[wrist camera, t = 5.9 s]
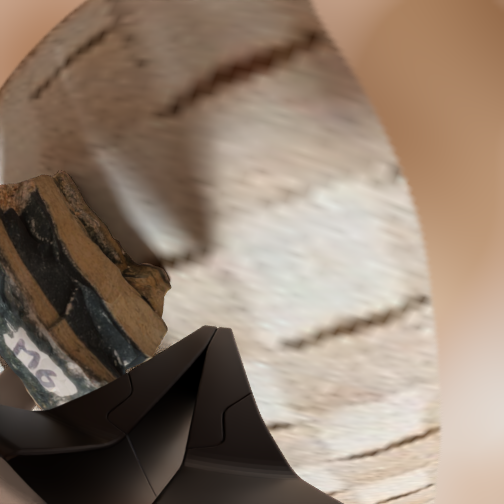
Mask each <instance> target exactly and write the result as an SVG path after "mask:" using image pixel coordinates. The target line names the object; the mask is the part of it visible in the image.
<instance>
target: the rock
mask: <svg viewBox="0 0 504 504" xmlns="http://www.w3.org/2000/svg"><path fill="white" fill-rule="evenodd" d="M169 289H171V285H170V282H169V279H168V277H167V274H166V272H165V271H164V269H162V268H160V267H157V266H153V265H151V264H147V263H142V264H140V265H137V264H136V263H134V262H133V261H132V260H131V258H130V257H129V256H128V255H127V254H126V253H125V251H124V250H123V249H122V247H121V245H120V243H119V241H117V240H115V239H113V237H112V236H111V234H110V232H109V230H108V228H107V226H106V225H105V224H104V223H103V222H102V221H101V220H100V219H99V218H98V217H97V216H96V214H95V213H94V212H93V211H92V210H91V209H90V208H89V207H88V206H87V205H86V203H85V201H84V200H83V197H82V195H81V193H80V192H79V190H78V188H77V186H76V184H75V183H74V182H73V180H72V179H71V177H70V176H69V175H68V174H67V173H66V172H65V171H62V170H61V171H58V173H57V174H55V175H54V176H53V177H52V176H49V175H40V176H38V177H35V178H32V179H30V180H27V181H24V182H21V183H18V184H8V185H0V355H1V357H2V358H3V359H4V360H5V361H6V363H7V364H8V366H9V367H10V368H11V369H12V370H13V372H14V373H15V374H16V375H17V376H18V377H19V378H20V379H21V381H22V382H23V384H24V386H25V387H26V390H27V392H28V393H29V394H30V396H31V397H32V399H33V400H34V402H35V404H36V405H37V406H38V407H39V408H40V409H43V410H48V409H52V408H54V407H57V406H59V405H62V404H64V403H67V402H69V401H71V400H74V399H76V398H78V397H80V396H83V395H85V394H87V393H90V392H92V391H94V390H96V389H98V388H100V387H102V386H104V385H106V384H108V383H110V382H112V381H113V380H115V379H117V378H119V377H120V376H122V375H124V374H126V369H129V368H132V367H134V366H137V365H139V364H141V363H143V362H145V361H147V360H149V359H151V358H152V357H153V356H154V354H155V352H156V350H157V348H158V346H159V344H160V342H161V341H162V339H163V337H164V336H165V334H166V332H167V329H168V328H167V326H166V324H165V322H164V321H163V319H162V313H163V305H164V296H165V294H166V293H167V291H168V290H169Z"/></svg>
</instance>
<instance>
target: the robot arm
mask: <svg viewBox="0 0 504 504" xmlns="http://www.w3.org/2000/svg"><path fill="white" fill-rule="evenodd" d="M0 504H344V503H342V502H340V501H338V500H336V499H334V498H333V497H331V496H329V495H327V494H325V493H324V492H322V491H320V490H319V489H317V488H315V487H314V486H312V485H310V484H309V483H307V482H305V481H304V480H302V479H301V478H300V477H299V476H298V475H297V474H296V473H295V472H294V470H293V469H292V468H291V466H290V465H289V463H288V462H287V460H286V459H285V457H284V455H283V454H282V452H281V450H280V449H279V447H278V445H277V444H276V442H275V440H274V439H273V437H272V435H271V434H270V432H269V430H268V428H267V427H266V425H265V423H264V421H263V419H262V417H261V414H260V412H259V409H258V407H257V405H256V402H255V399H254V396H253V393H252V390H251V387H250V384H249V381H248V378H247V375H246V372H245V369H244V366H243V363H242V360H241V357H240V354H239V351H238V347H237V344H236V341H235V338H234V335H233V332H232V329H231V328H223V327H219V328H217V327H215V326H206V325H205V326H202V327H201V328H199V329H198V330H196V331H195V332H193V333H191V334H190V335H188V336H187V337H185V338H183V339H182V340H180V341H179V342H177V343H175V344H174V345H172V346H170V347H169V348H167V349H166V350H164V351H162V352H161V353H159V354H157V355H156V356H154V357H152V358H151V359H149V360H147V361H146V362H144V363H142V364H141V365H139V366H137V367H136V368H134V369H132V370H131V371H129V372H128V373H126V374H124V375H122V376H120V377H119V378H117V379H115V380H113V381H112V382H110V383H108V384H106V385H104V386H102V387H100V388H98V389H96V390H94V391H92V392H90V393H87V394H85V395H83V396H80V397H78V398H76V399H74V400H71V401H69V402H67V403H64V404H62V405H59V406H57V407H54V408H52V409H48V410H43V411H30V410H24V409H19V408H14V407H10V406H5V405H1V404H0Z"/></svg>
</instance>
